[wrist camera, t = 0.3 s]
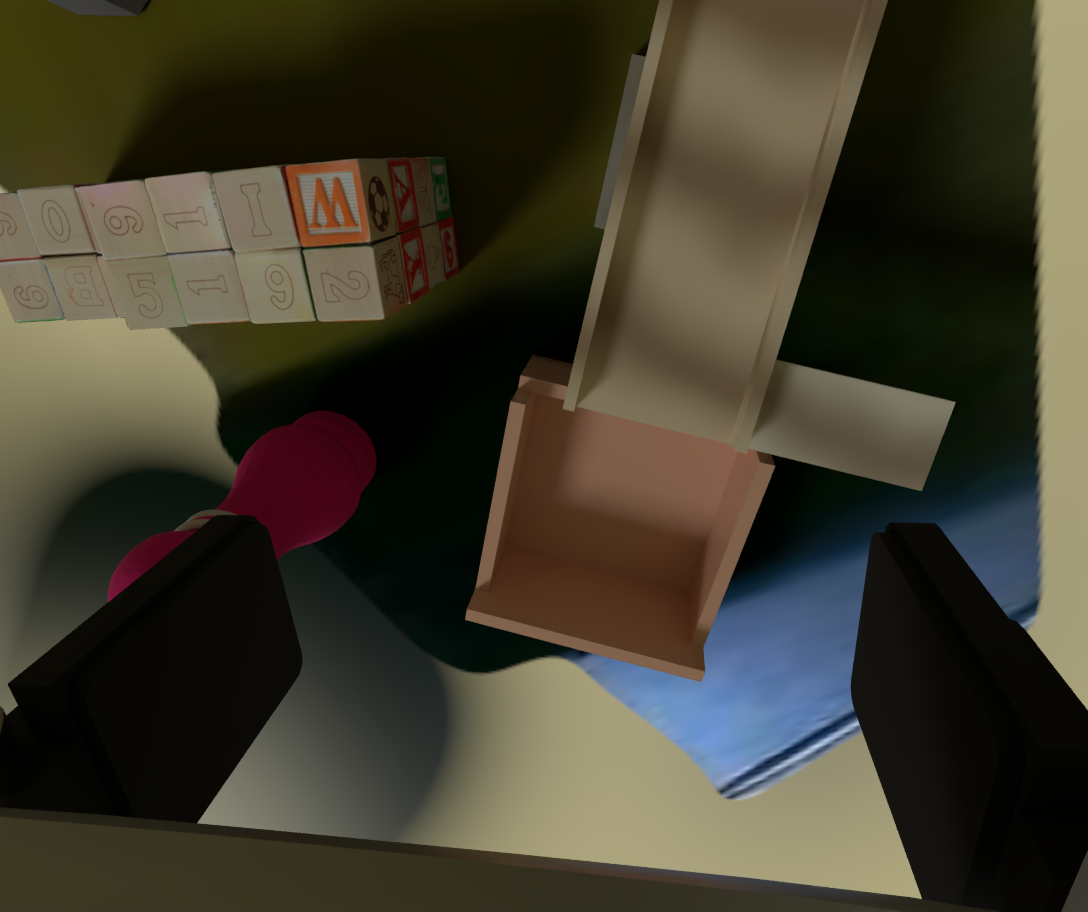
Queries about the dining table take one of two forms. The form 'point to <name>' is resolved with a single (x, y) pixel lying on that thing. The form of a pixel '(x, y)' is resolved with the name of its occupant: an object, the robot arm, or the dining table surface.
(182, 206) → the stack of blocks
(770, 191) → the tray
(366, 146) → the dining table surface
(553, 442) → the pink open box
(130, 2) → the coffeepot
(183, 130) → the dining table surface
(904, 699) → the robot arm
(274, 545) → the pepper mill
